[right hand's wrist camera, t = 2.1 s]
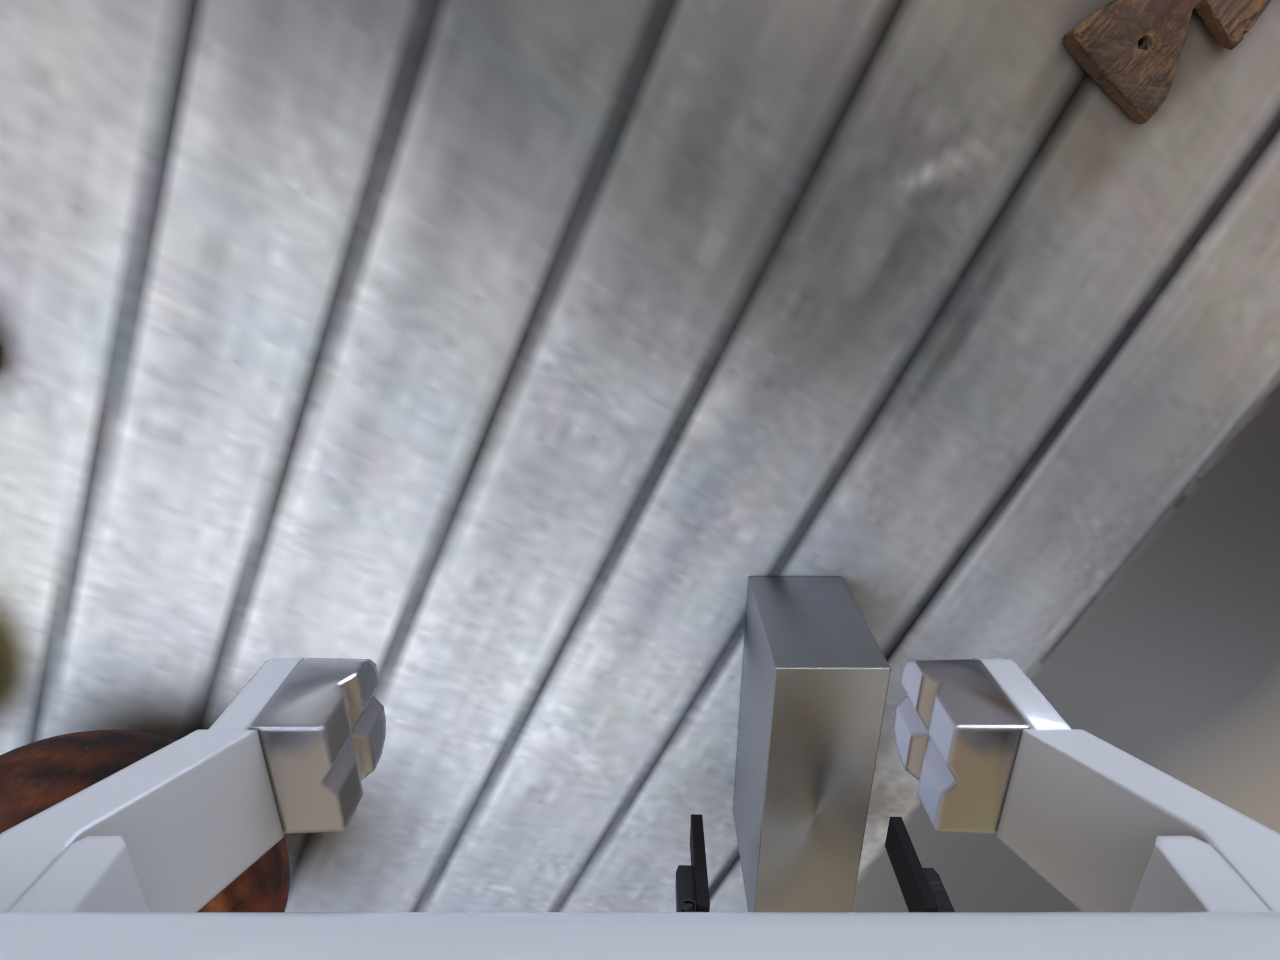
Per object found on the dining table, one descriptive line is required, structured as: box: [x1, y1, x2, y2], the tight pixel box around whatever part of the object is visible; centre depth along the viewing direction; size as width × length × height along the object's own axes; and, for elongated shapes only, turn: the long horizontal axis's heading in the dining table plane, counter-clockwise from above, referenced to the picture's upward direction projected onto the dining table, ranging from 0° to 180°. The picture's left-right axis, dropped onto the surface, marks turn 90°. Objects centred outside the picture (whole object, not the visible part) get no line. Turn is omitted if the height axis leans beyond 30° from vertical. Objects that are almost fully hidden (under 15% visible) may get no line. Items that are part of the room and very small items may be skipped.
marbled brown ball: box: [0, 730, 290, 912], centre depth 46 cm, size 22×18×20 cm
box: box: [733, 576, 891, 912], centre depth 46 cm, size 21×6×10 cm, turn 0°
